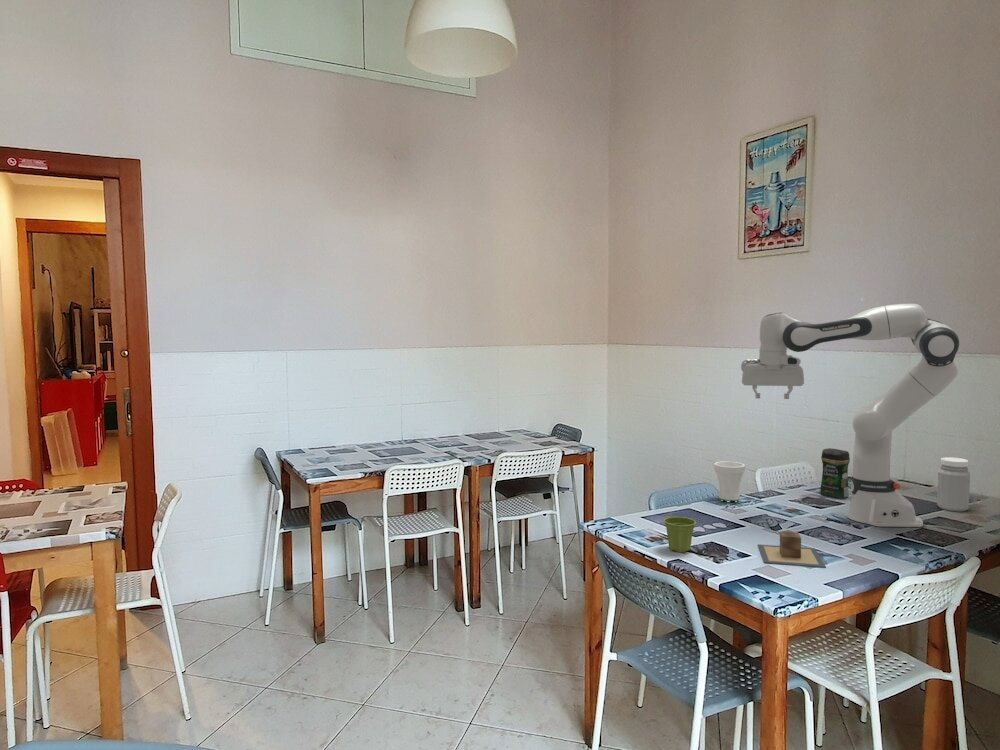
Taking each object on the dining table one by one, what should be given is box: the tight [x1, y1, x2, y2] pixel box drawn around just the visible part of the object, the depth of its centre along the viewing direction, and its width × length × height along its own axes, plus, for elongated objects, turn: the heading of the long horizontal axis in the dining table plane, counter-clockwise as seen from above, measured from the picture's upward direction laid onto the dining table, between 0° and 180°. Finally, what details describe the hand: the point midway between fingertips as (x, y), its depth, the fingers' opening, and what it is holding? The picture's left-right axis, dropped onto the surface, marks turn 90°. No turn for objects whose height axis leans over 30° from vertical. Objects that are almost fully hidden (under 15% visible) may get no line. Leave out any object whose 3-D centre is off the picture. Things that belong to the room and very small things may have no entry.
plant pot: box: [663, 516, 697, 553], centre depth 201 cm, size 9×9×9 cm
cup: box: [713, 460, 746, 502], centre depth 256 cm, size 11×11×14 cm
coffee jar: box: [819, 447, 851, 499], centre depth 260 cm, size 10×8×19 cm
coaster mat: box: [757, 543, 827, 569], centre depth 194 cm, size 16×16×1 cm
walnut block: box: [779, 530, 802, 558], centre depth 194 cm, size 5×5×6 cm
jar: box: [936, 456, 971, 513], centre depth 241 cm, size 10×10×18 cm
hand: (772, 398), depth 235 cm, fingers open, 8 cm apart
